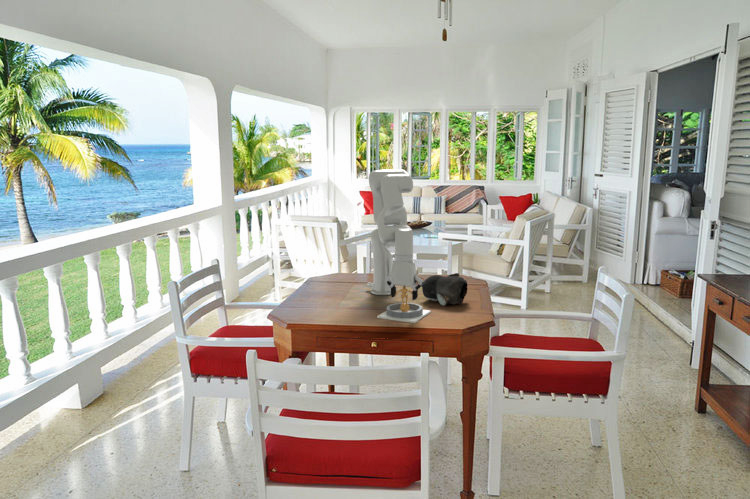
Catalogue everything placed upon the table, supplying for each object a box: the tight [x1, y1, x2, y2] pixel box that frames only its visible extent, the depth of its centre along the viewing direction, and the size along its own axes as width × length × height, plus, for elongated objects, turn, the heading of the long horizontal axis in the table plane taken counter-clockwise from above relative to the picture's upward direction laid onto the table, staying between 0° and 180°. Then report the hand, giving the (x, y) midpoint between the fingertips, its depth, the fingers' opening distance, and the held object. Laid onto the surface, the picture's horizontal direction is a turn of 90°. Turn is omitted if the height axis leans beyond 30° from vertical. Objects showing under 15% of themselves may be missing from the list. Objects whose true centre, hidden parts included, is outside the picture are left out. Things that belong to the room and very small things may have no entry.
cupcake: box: [416, 267, 425, 283], centre depth 304 cm, size 12×10×10 cm
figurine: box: [394, 286, 412, 312], centre depth 239 cm, size 8×6×12 cm
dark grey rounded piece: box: [421, 272, 468, 307], centre depth 259 cm, size 20×21×13 cm
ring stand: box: [376, 302, 432, 324], centre depth 240 cm, size 17×17×3 cm
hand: (404, 298), depth 240 cm, fingers open, 9 cm apart
